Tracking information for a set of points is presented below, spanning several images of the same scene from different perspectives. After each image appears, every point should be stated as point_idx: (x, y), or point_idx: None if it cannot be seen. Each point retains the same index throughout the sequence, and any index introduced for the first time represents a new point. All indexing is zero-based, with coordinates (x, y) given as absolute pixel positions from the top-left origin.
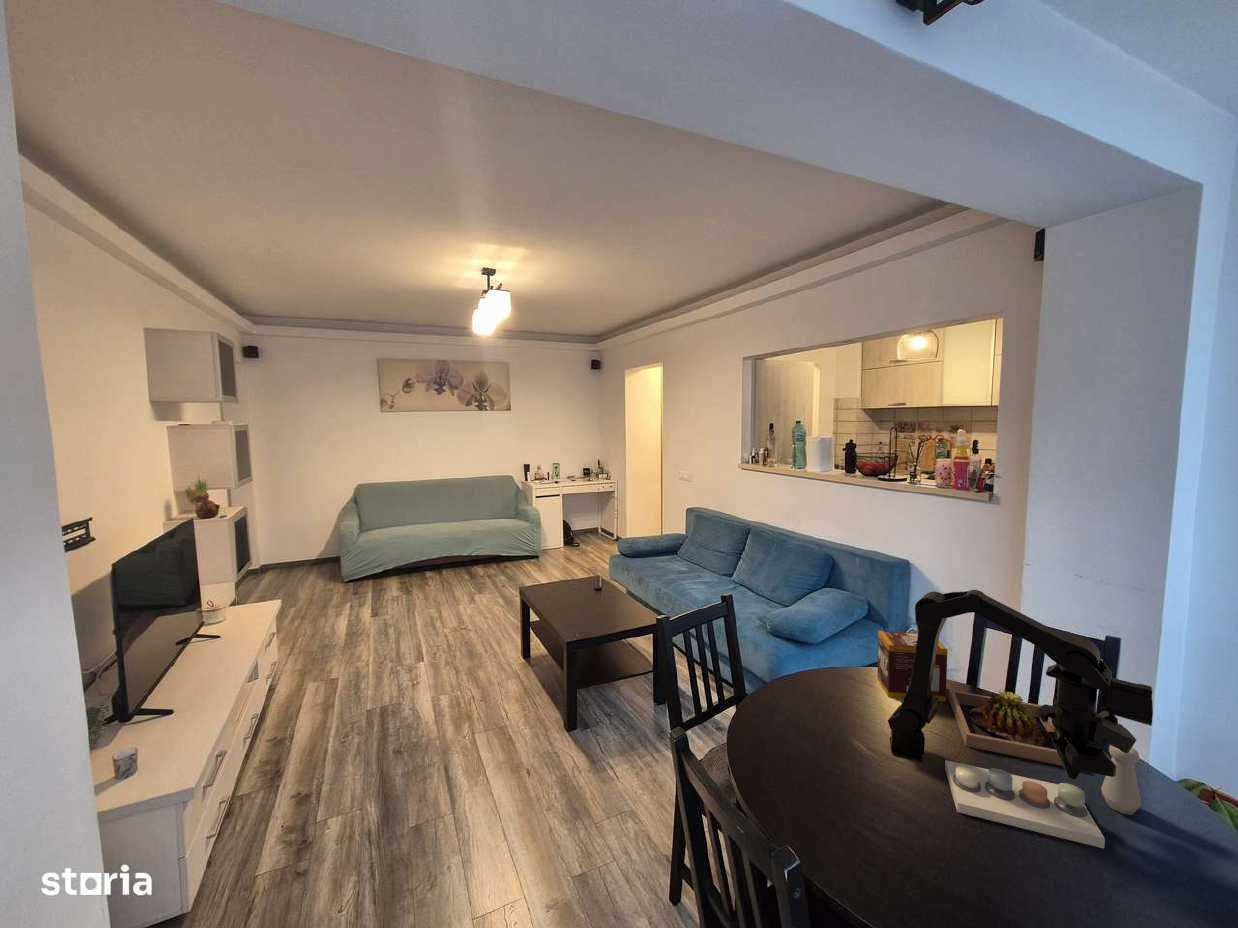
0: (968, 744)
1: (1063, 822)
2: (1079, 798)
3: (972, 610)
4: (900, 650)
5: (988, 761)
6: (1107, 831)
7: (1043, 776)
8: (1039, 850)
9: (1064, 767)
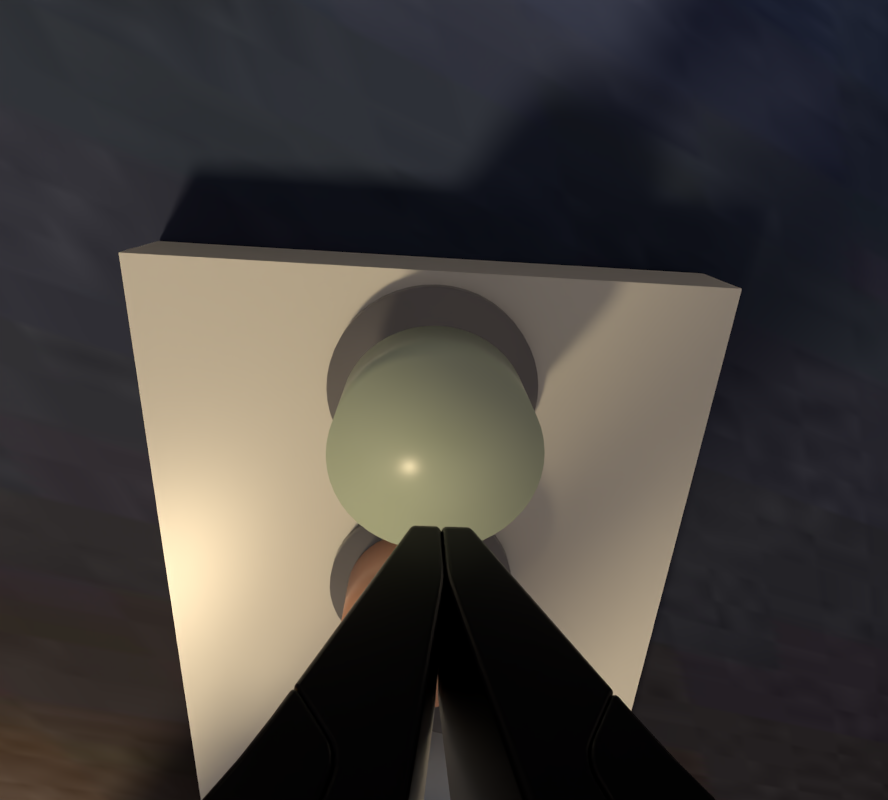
0: None
1: (622, 489)
2: (536, 425)
3: None
4: None
5: (10, 641)
6: (515, 162)
7: None
8: (768, 604)
9: (432, 725)
